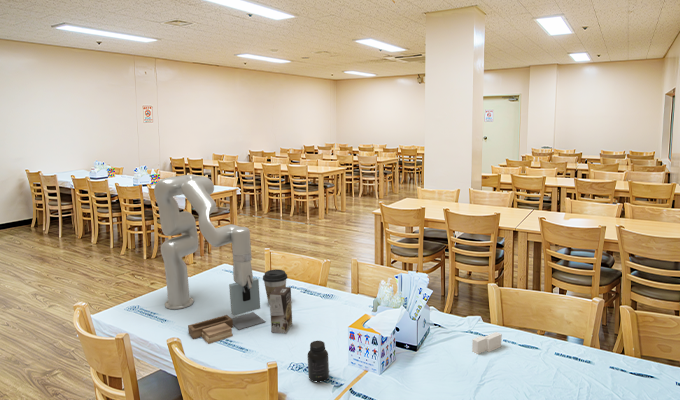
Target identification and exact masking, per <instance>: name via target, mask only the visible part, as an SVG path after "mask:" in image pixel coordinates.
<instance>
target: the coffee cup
mask: <svg viewBox="0 0 680 400" xmlns="http://www.w3.org/2000/svg"><path fill="white" fill-rule="evenodd" d="M287 280H288V274H287V273H286V271H285V270H282V269H278V268H277V269H270V270H267V271H265V272H264V274H263V276H262V281H263V282H264V283H263V284H264V288H265V292H266V298H267V303H268V305H269V306H270V294H271V292H272V291H273V290H274V289H275V288H276V287H287Z"/></svg>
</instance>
